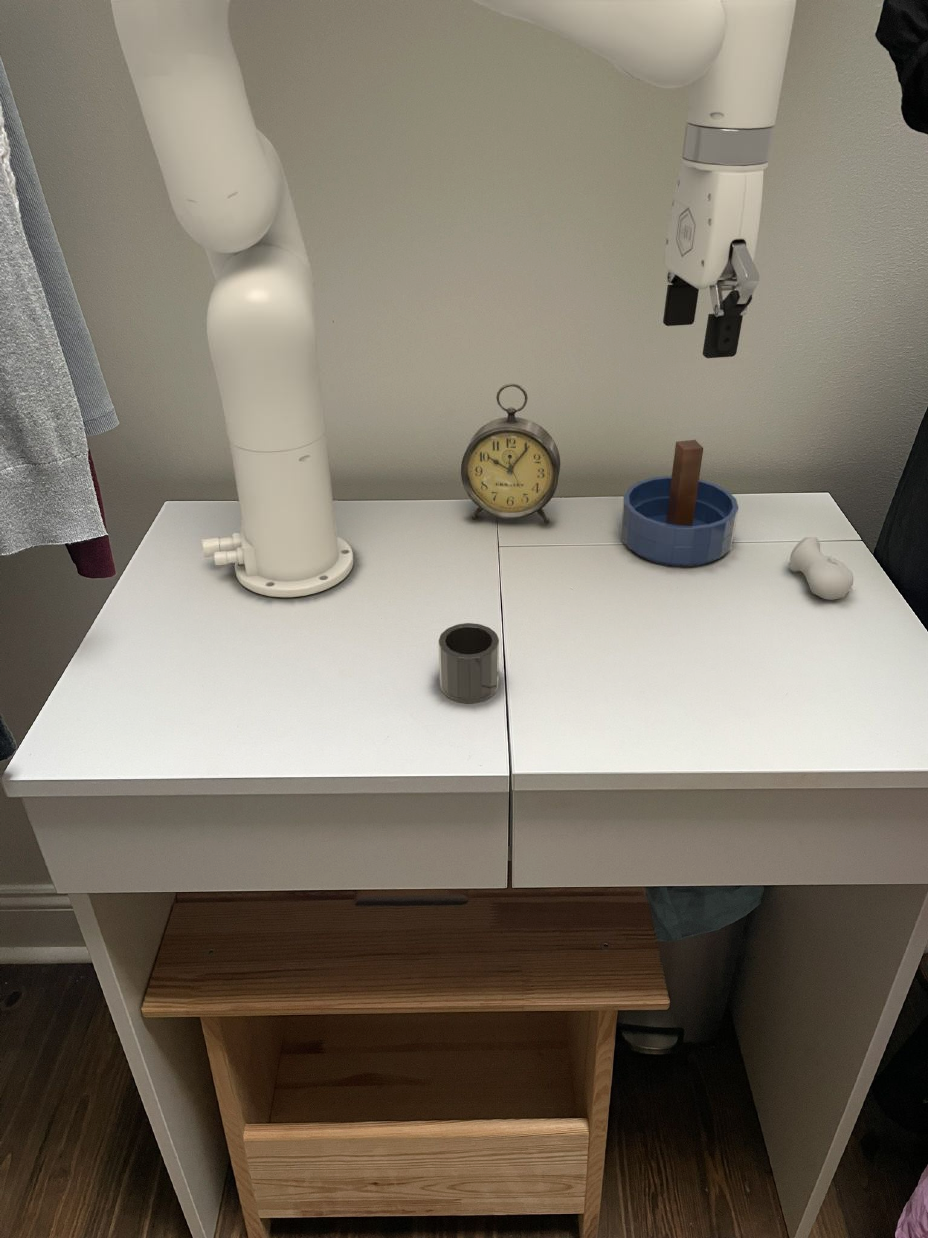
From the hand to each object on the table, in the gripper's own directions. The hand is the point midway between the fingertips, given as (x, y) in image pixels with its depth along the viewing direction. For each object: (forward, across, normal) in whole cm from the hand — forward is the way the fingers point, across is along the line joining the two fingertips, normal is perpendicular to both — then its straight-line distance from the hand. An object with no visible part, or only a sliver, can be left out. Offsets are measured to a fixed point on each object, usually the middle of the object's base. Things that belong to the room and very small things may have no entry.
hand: (697, 339), depth 93 cm
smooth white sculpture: (+23, +12, +12) cm, 28 cm away
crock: (+23, +20, -27) cm, 41 cm away
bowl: (+23, 0, +1) cm, 23 cm away
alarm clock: (+23, -10, -16) cm, 30 cm away
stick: (+22, 0, +1) cm, 22 cm away
